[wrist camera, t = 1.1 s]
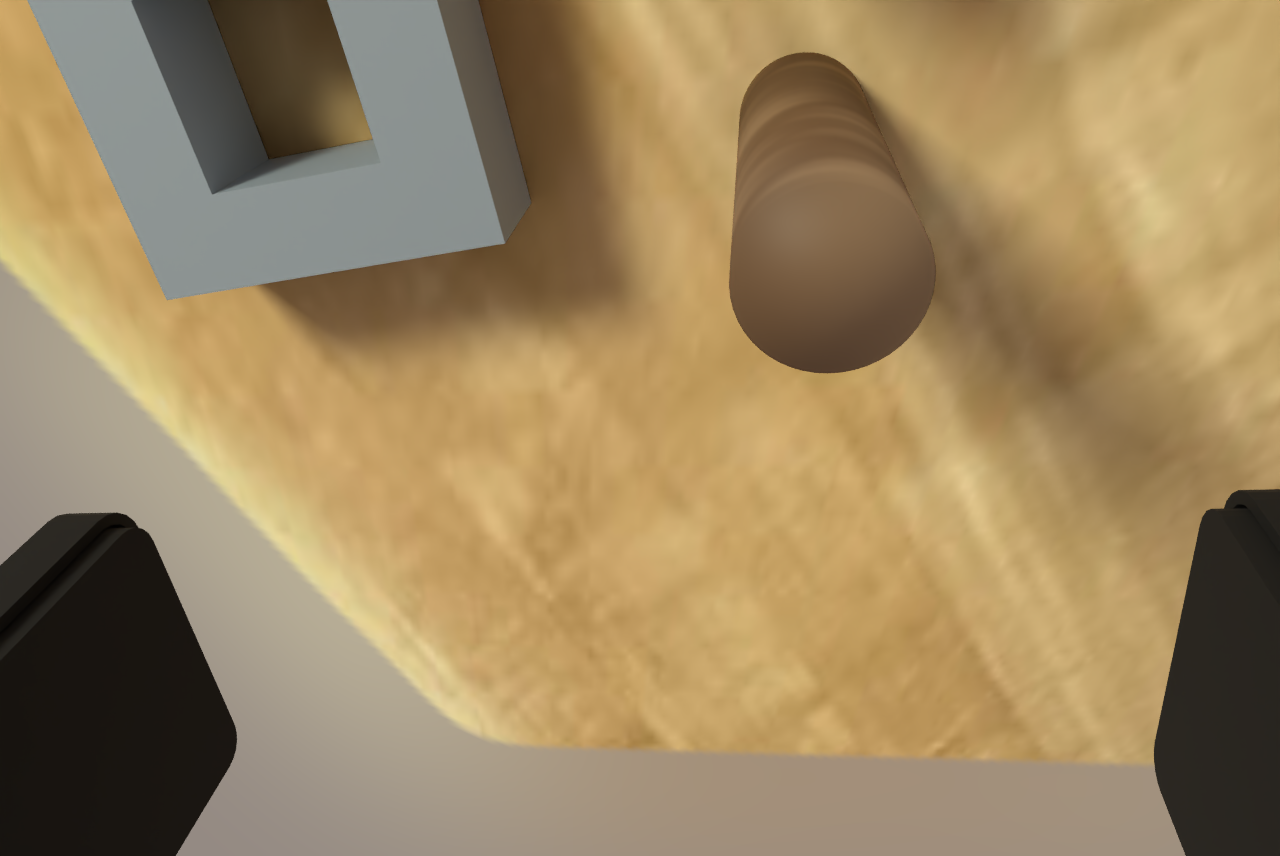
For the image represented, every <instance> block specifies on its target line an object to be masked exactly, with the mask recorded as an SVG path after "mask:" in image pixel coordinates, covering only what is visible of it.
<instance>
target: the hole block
mask: <svg viewBox="0 0 1280 856" xmlns="http://www.w3.org/2000/svg"><path fill="white" fill-rule="evenodd" d="M327 1H328V4H329V7H330V10H331V13H332V16H333V19H334V22H335V25H336V28H337V31H338V35H339V38H340V41H341V44H342V47H343V50H344V53H345V56H346V59H347V62H348V65H349V68H350V71H351V74H352V77H353V80H354V83H355V86H356V89H357V92H358V95H359V98H360V101H361V104H362V107H363V110H364V113H365V116H366V119H367V122H368V126H369V129H370V132H371V135H372V138H373V139H372V140H367V141H361V142H356V143H351V144H346V145H341V146H336V147H330V148H325V149H320V150H315V151H310V152H305V153H299V154H294V155H289V156H284V157H279V158H274V159H268V156H267V154H266V151H265V148H264V146H263V143H262V141H261V138H260V135H259V133H258V130H257V128H256V125H255V122H254V120H253V117H252V115H251V112H250V109H249V107H248V104H247V102H246V99H245V96H244V94H243V91H242V89H241V86H240V83H239V81H238V78H237V76H236V73H235V70H234V68H233V65H232V62H231V60H230V57H229V55H228V52H227V49H226V47H225V44H224V42H223V39H222V36H221V34H220V31H219V29H218V26H217V23H216V21H215V18H214V16H213V13H212V10H211V8H210V5H209V3H208V0H28V3H29V5H30V7H31V9H32V11H33V13H34V16H35V18H36V20H37V22H38V24H39V26H40V28H41V31H42V33H43V35H44V37H45V39H46V41H47V43H48V46H49V48H50V50H51V52H52V54H53V56H54V59H55V61H56V63H57V65H58V67H59V69H60V71H61V74H62V76H63V78H64V80H65V82H66V84H67V86H68V89H69V91H70V93H71V95H72V97H73V99H74V101H75V104H76V106H77V108H78V110H79V112H80V114H81V117H82V119H83V121H84V123H85V125H86V127H87V129H88V132H89V134H90V136H91V138H92V140H93V142H94V144H95V147H96V149H97V151H98V153H99V155H100V157H101V160H102V162H103V164H104V166H105V168H106V170H107V172H108V175H109V177H110V179H111V181H112V183H113V185H114V187H115V190H116V192H117V194H118V196H119V198H120V200H121V203H122V205H123V207H124V209H125V211H126V213H127V215H128V218H129V220H130V222H131V224H132V226H133V228H134V230H135V233H136V235H137V237H138V239H139V241H140V243H141V246H142V248H143V250H144V252H145V254H146V256H147V258H148V261H149V263H150V265H151V267H152V269H153V271H154V273H155V276H156V278H157V280H158V282H159V284H160V286H161V288H162V291H163V293H164V295H165V297H166V299H167V300H170V299H176V298H182V297H188V296H194V295H200V294H206V293H212V292H218V291H224V290H230V289H236V288H242V287H248V286H254V285H260V284H266V283H272V282H278V281H284V280H290V279H296V278H302V277H308V276H314V275H320V274H326V273H332V272H338V271H344V270H350V269H355V268H361V267H367V266H373V265H379V264H385V263H391V262H397V261H403V260H409V259H415V258H421V257H427V256H433V255H439V254H445V253H451V252H457V251H463V250H469V249H475V248H481V247H487V246H493V245H499V244H505V243H506V241H507V240H508V238H509V237H510V235H511V233H512V232H513V230H514V229H515V227H516V226H517V224H518V223H519V221H520V220H521V218H522V217H523V215H524V213H525V212H526V210H527V209H528V207H529V206H530V204H531V200H530V196H529V192H528V188H527V184H526V181H525V177H524V173H523V169H522V165H521V161H520V158H519V154H518V150H517V146H516V142H515V138H514V135H513V131H512V127H511V123H510V119H509V116H508V112H507V108H506V104H505V100H504V96H503V93H502V89H501V85H500V81H499V77H498V73H497V70H496V66H495V62H494V58H493V54H492V50H491V47H490V43H489V39H488V35H487V31H486V27H485V24H484V20H483V16H482V12H481V8H480V5H479V1H478V0H327Z"/></svg>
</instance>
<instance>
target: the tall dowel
mask: <svg viewBox="0 0 1280 856" xmlns="http://www.w3.org/2000/svg"><path fill="white" fill-rule="evenodd" d="M935 273H936V266H935V259H934V253H933V250H932V246H931V243H930V240H929V238H928V236H927V234H926V231H925V229H924V227H923V225H922V223H921V220H920V218H919V216H918V214H917V211H916V209H915V207H914V205H913V202H912V200H911V198H910V196H909V194H908V191H907V189H906V187H905V185H904V182H903V180H902V178H901V176H900V174H899V171H898V169H897V167H896V165H895V162H894V160H893V158H892V156H891V154H890V151H889V149H888V147H887V145H886V142H885V140H884V138H883V136H882V133H881V131H880V129H879V127H878V125H877V122H876V120H875V118H874V116H873V113H872V111H871V109H870V107H869V105H868V102H867V100H866V98H865V96H864V93H863V91H862V89H861V87H860V85H859V83H858V81H857V79H856V78H855V76H854V75H853V74H852V73H851V72H850V70H849V69H847V68H846V67H845V66H844V65H843V64H841V63H840V62H838V61H837V60H835V59H833V58H831V57H829V56H825V55H822V54H818V53H795V54H791V55H787V56H784V57H782V58H780V59H777V60H776V61H774V62H772V63H770V64H769V65H768V66H767V67H765V68H764V69H763V70H762V71H761V72H760V73H759V74H758V75H757V76H756V77H755V78H754V80H753V81H752V82H751V84H750V86H749V87H748V89H747V91H746V93H745V96H744V98H743V102H742V105H741V111H740V122H739V137H738V153H737V168H736V183H735V199H734V214H733V230H732V245H731V261H730V278H729V289H730V298H731V302H732V306H733V310H734V313H735V315H736V318H737V320H738V322H739V324H740V326H741V327H742V329H743V331H744V332H745V333H746V335H747V336H748V337H749V339H750V340H751V341H752V342H753V343H754V344H755V345H756V346H757V347H758V348H759V349H760V350H761V351H763V352H764V353H765V354H767V355H768V356H769V357H771V358H773V359H775V360H776V361H778V362H780V363H782V364H784V365H787V366H789V367H792V368H795V369H799V370H802V371H808V372H814V373H839V372H846V371H851V370H855V369H859V368H862V367H865V366H868V365H870V364H872V363H874V362H877V361H879V360H881V359H882V358H884V357H886V356H887V355H889V354H891V353H892V352H893V351H895V350H896V349H897V348H898V347H900V346H901V345H902V344H903V343H904V342H905V341H906V340H907V339H908V338H909V337H910V336H911V335H912V334H913V332H914V331H915V330H916V329H917V327H918V326H919V324H920V323H921V321H922V319H923V318H924V316H925V314H926V312H927V310H928V307H929V305H930V302H931V299H932V296H933V292H934V286H935Z"/></svg>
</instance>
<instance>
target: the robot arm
mask: <svg viewBox="0 0 1280 856" xmlns="http://www.w3.org/2000/svg"><path fill="white" fill-rule="evenodd" d="M236 743H237V734H236V728H235V725H234V722H233V720H232V718H231V715H230V713H229V711H228V709H227V706H226V704H225V702H224V699H223V697H222V695H221V693H220V690H219V688H218V686H217V684H216V682H215V679H214V677H213V675H212V672H211V670H210V668H209V666H208V663H207V661H206V659H205V657H204V654H203V652H202V650H201V648H200V646H199V643H198V641H197V639H196V636H195V634H194V632H193V629H192V627H191V625H190V623H189V621H188V618H187V616H186V614H185V611H184V609H183V607H182V605H181V603H180V600H179V598H178V596H177V593H176V591H175V589H174V586H173V584H172V582H171V580H170V577H169V576H168V573H167V571H166V568H165V566H164V564H163V562H162V559H161V557H160V555H159V553H158V550H157V548H156V546H155V544H154V541H153V540H152V538H151V536H150V535H149V533H147V532H146V531H145V530H143V529H140V528H138V526H137V525H136V523H135V522H134V521H133V520H132V519H131V518H129V517H128V516H127V515H124V514H120V513H79V514H64V515H59V516H56V517H55V518H53V519H52V520H50V521H49V522H47V523H46V524H45V525H44V526H43V527H42V528H41V529H40V530H39V531H37V532H36V533H35V534H34V535H33V536H32V537H31V538H30V539H29V540H28V541H27V542H25V543H24V544H23V545H22V546H21V547H20V548H19V549H18V550H17V551H16V552H15V553H14V554H12V555H11V556H10V557H9V558H8V559H7V560H6V561H5V562H4V563H3V564H1V565H0V856H176V854H177V853H178V851H179V849H180V848H181V846H182V844H183V843H184V841H185V839H186V838H187V836H188V834H189V833H190V831H191V829H192V828H193V826H194V825H195V823H196V821H197V819H198V818H199V816H200V814H201V813H202V811H203V809H204V808H205V806H206V805H207V803H208V801H209V800H210V798H211V796H212V795H213V793H214V791H215V790H216V788H217V786H218V785H219V783H220V781H221V780H222V778H223V777H224V775H225V773H226V772H227V770H228V768H229V767H230V764H231V762H232V760H233V758H234V754H235V751H236ZM1154 763H1155V772H1156V776H1157V781H1158V785H1159V788H1160V791H1161V794H1162V796H1163V799H1164V801H1165V804H1166V806H1167V809H1168V811H1169V814H1170V817H1171V819H1172V822H1173V824H1174V827H1175V829H1176V832H1177V834H1178V837H1179V840H1180V842H1181V845H1182V847H1183V850H1184V852H1185V855H1186V856H1280V489H1275V490H1238V491H1236V492H1234V493H1232V494H1231V496H1230V497H1229V498H1228V500H1227V501H1226V504H1225V507H1224V509H1210V510H1208V511H1206V513H1205V514H1204V516H1203V517H1202V520H1201V524H1200V527H1199V532H1198V537H1197V542H1196V547H1195V551H1194V556H1193V561H1192V566H1191V571H1190V576H1189V580H1188V585H1187V590H1186V595H1185V600H1184V604H1183V609H1182V614H1181V619H1180V624H1179V628H1178V633H1177V638H1176V643H1175V648H1174V653H1173V657H1172V662H1171V667H1170V672H1169V677H1168V681H1167V686H1166V691H1165V696H1164V701H1163V706H1162V710H1161V715H1160V720H1159V725H1158V730H1157V734H1156V739H1155V746H1154Z"/></svg>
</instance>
